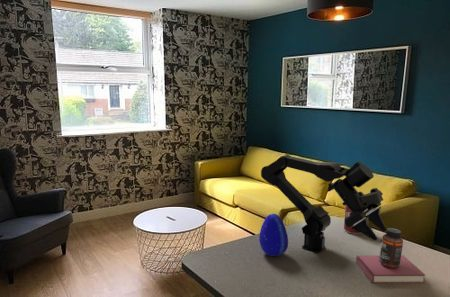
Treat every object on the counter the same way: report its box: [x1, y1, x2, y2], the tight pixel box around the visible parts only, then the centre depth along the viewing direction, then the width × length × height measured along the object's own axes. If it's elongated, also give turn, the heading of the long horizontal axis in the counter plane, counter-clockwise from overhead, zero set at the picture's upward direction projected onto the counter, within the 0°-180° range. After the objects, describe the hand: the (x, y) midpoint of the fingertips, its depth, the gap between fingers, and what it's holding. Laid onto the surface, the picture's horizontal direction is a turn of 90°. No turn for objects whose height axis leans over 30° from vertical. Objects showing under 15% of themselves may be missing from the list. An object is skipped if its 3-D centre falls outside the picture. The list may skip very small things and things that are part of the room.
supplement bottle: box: [379, 227, 404, 268], centre depth 105 cm, size 6×6×11 cm
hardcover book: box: [355, 254, 426, 284], centre depth 106 cm, size 16×12×3 cm
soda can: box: [343, 205, 361, 235], centre depth 138 cm, size 7×7×12 cm
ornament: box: [258, 213, 289, 257], centre depth 118 cm, size 11×9×15 cm
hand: (380, 235), depth 107 cm, fingers open, 9 cm apart
